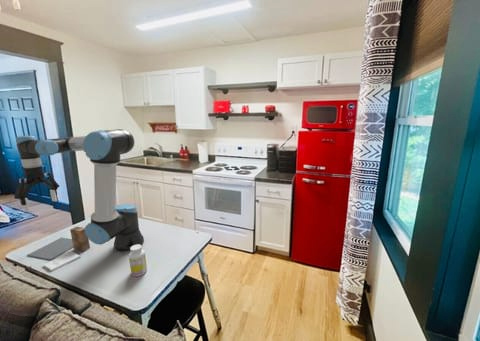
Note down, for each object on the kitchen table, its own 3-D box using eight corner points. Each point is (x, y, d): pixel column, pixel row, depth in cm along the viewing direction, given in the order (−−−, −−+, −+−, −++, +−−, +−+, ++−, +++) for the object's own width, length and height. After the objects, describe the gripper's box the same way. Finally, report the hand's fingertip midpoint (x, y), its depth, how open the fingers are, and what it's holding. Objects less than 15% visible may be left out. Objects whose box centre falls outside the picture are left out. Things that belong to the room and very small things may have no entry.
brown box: (90, 247, 126) (86, 227, 123) (84, 251, 123) (80, 231, 120) (80, 246, 128) (76, 226, 125) (74, 249, 124) (70, 229, 122)
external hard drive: (80, 258, 118) (51, 272, 107) (72, 254, 121) (43, 267, 111) (80, 255, 117) (51, 269, 107) (71, 251, 121) (43, 264, 111)
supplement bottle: (139, 266, 110) (136, 241, 107) (150, 269, 108) (147, 244, 105) (127, 274, 104) (124, 249, 101) (139, 278, 102) (135, 252, 99)
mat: (83, 241, 132) (83, 240, 132) (51, 260, 115) (50, 259, 115) (61, 238, 136) (61, 237, 136) (27, 255, 119) (27, 254, 119)
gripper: (51, 161, 130) (59, 197, 135) (-4, 171, 106) (8, 214, 111) (62, 161, 128) (69, 198, 133) (8, 172, 104) (20, 215, 109)
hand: (41, 205), depth 122 cm, fingers open, 13 cm apart
